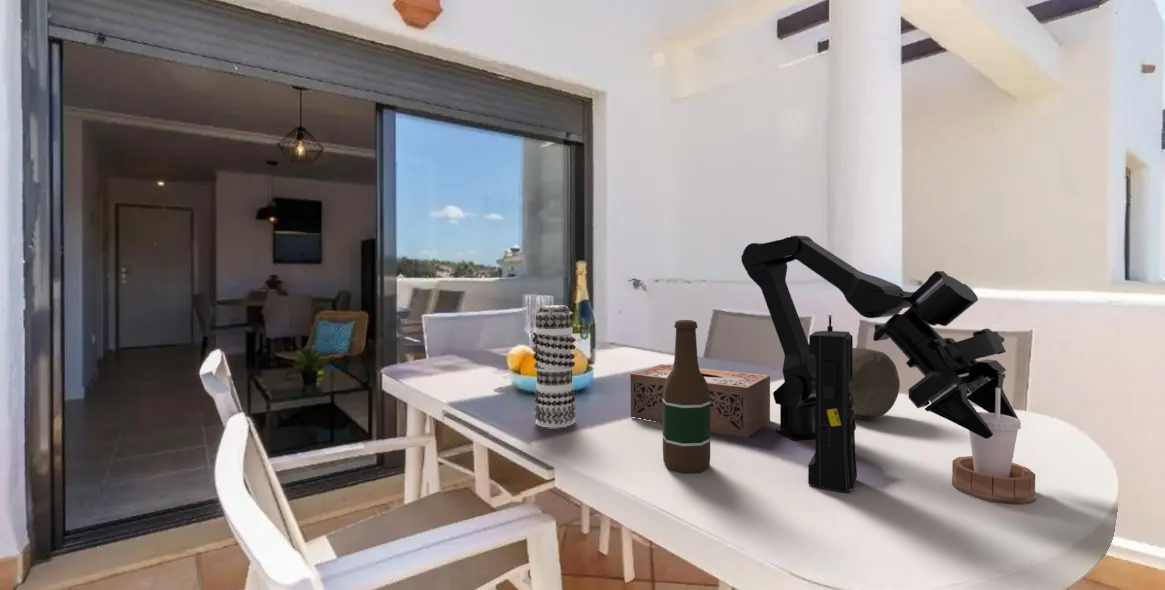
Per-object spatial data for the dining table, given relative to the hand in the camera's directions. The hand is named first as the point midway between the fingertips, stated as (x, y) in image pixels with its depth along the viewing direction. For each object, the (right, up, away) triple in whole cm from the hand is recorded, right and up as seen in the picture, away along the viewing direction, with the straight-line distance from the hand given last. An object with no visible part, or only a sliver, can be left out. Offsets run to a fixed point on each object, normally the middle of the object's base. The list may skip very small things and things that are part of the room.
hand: (1004, 431), depth 76 cm
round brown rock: (+1, -7, +40) cm, 41 cm away
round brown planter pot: (-1, -9, +2) cm, 9 cm away
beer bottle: (-43, -9, +13) cm, 45 cm away
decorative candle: (-66, -8, +39) cm, 77 cm away
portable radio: (-22, -9, +4) cm, 25 cm away
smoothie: (0, -8, +2) cm, 8 cm away
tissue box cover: (-34, -8, +40) cm, 53 cm away
